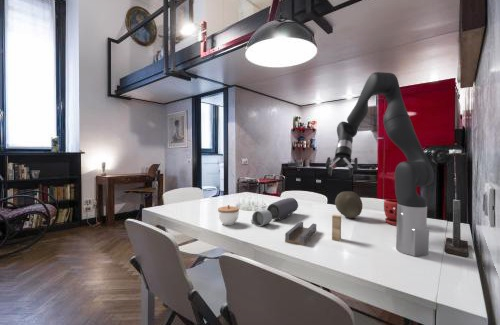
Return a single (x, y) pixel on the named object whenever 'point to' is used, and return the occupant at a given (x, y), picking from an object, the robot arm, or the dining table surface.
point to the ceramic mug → (261, 217)
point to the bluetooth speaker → (283, 208)
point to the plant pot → (390, 211)
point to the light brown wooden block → (336, 227)
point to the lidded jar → (228, 214)
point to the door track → (300, 234)
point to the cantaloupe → (348, 204)
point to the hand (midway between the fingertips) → (339, 175)
